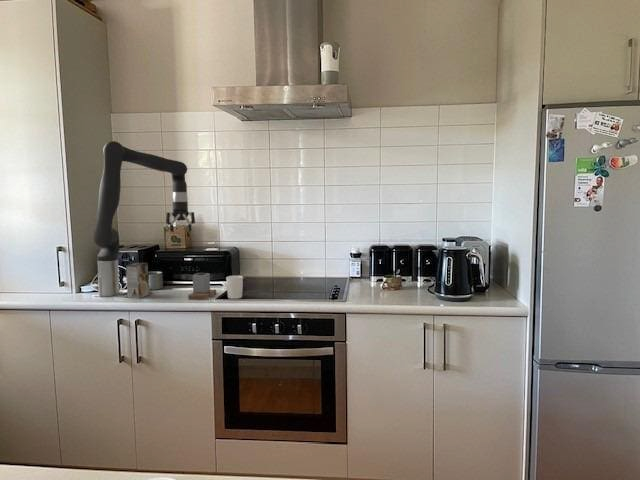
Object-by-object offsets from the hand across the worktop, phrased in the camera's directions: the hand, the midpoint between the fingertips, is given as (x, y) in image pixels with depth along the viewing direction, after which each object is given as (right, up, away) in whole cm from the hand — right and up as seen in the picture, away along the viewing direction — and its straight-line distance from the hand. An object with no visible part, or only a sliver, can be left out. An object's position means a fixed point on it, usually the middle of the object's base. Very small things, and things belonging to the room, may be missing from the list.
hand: (180, 232), depth 235 cm
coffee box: (-16, -32, -15) cm, 39 cm away
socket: (+15, -30, -16) cm, 37 cm away
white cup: (+32, -32, -18) cm, 49 cm away
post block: (+16, -32, -16) cm, 39 cm away
